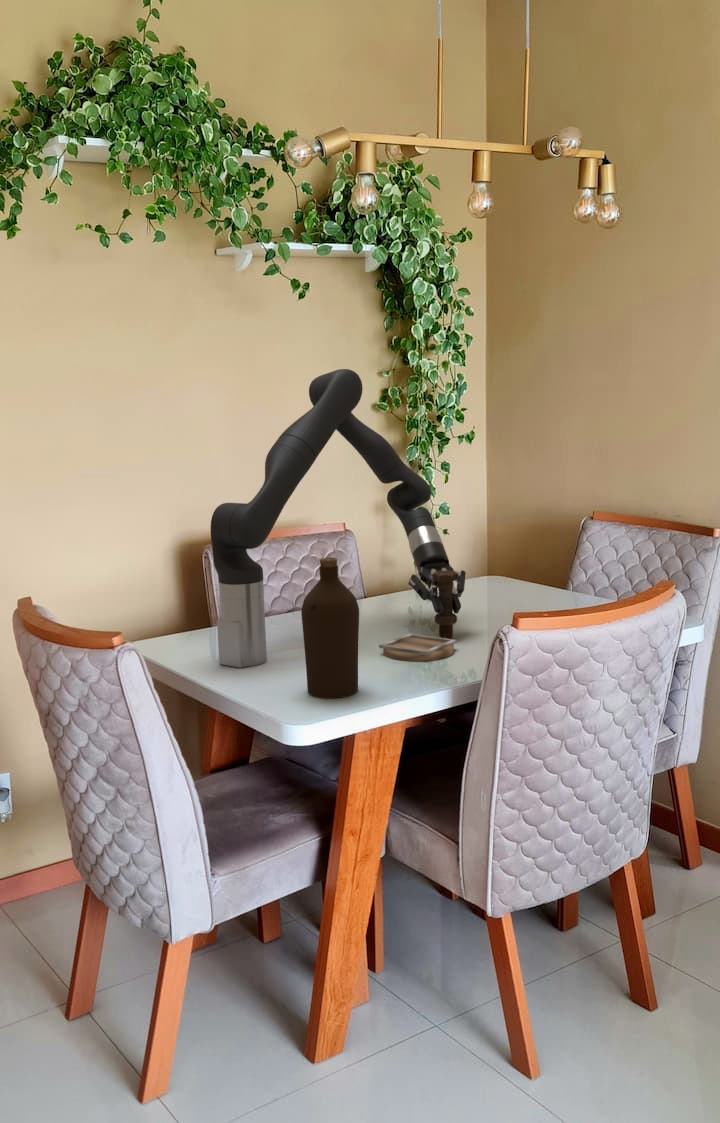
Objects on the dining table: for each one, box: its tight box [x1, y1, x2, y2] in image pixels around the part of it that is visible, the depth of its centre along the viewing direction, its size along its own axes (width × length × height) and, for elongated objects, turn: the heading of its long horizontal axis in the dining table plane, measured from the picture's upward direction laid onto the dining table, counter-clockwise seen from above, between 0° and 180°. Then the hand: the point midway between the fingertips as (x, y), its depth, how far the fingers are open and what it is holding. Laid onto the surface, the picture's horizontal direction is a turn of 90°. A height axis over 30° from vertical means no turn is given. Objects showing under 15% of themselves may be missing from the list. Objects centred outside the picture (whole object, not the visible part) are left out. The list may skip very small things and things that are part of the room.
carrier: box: [378, 633, 458, 662], centre depth 211 cm, size 15×15×2 cm
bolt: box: [432, 570, 458, 639], centre depth 220 cm, size 6×5×15 cm
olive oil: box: [300, 557, 360, 699], centre depth 182 cm, size 11×11×25 cm
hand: (449, 611), depth 219 cm, fingers closed on bolt, 3 cm apart
